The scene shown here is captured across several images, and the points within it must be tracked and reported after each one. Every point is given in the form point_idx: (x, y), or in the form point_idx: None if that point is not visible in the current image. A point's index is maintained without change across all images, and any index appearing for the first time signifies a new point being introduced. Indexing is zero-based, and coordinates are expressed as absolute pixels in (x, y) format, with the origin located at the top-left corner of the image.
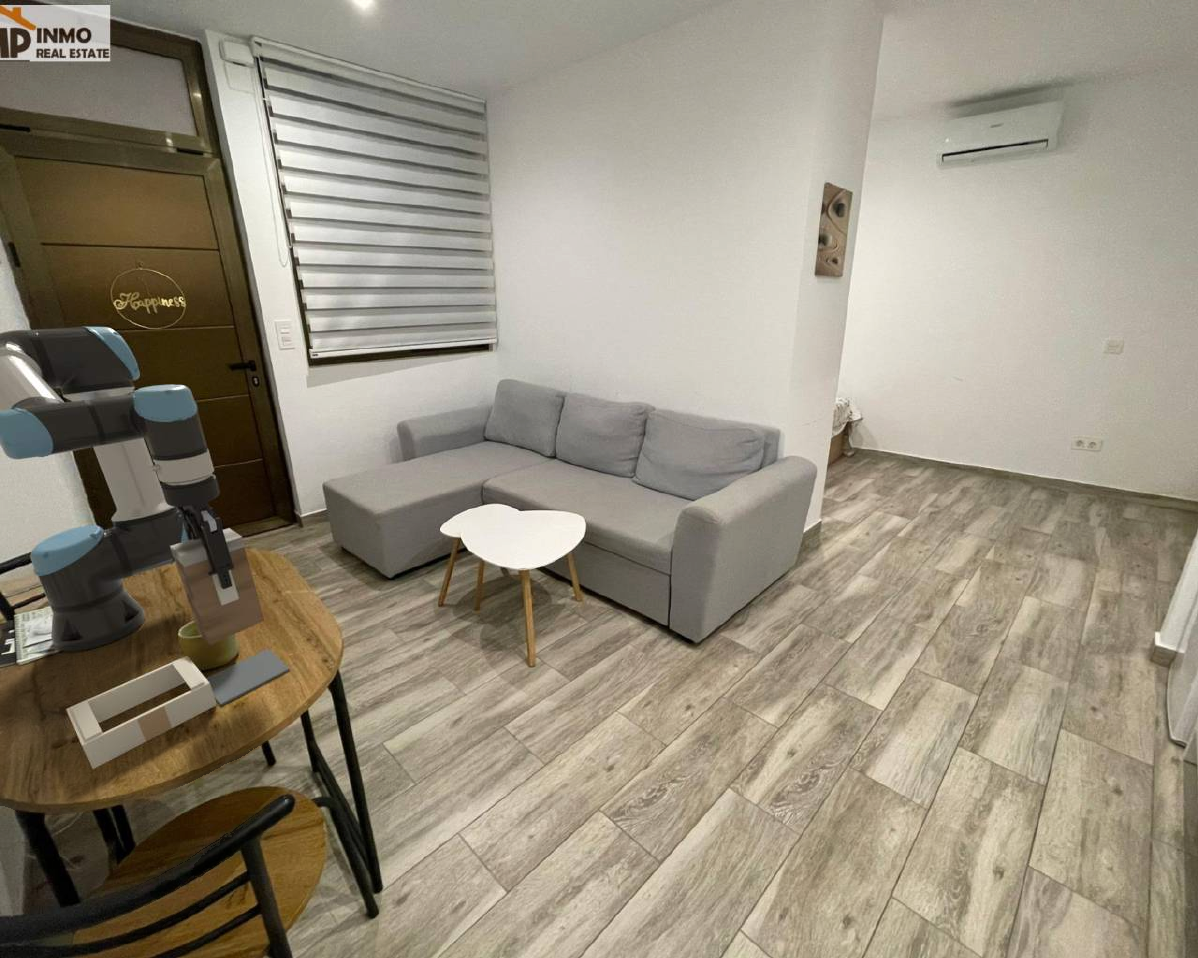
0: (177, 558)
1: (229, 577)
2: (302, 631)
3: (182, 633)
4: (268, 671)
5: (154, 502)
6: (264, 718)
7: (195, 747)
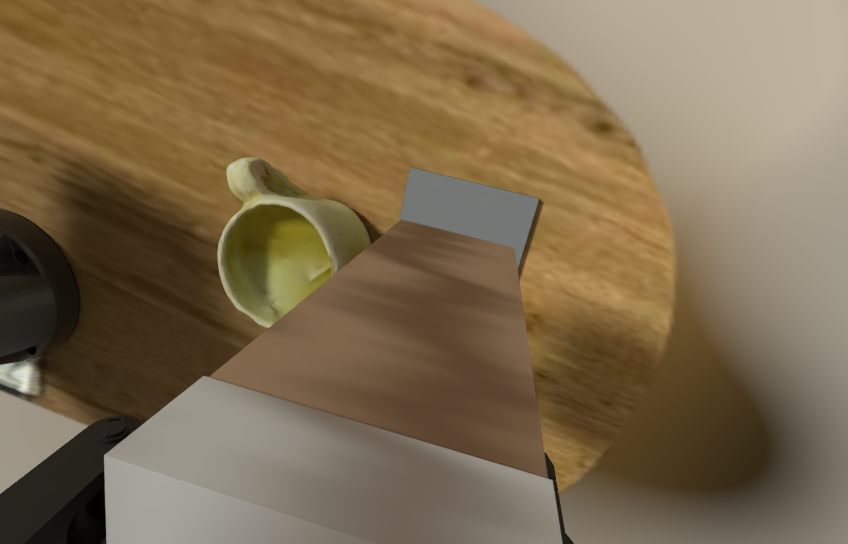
0: None
1: (559, 505)
2: (420, 63)
3: (249, 303)
4: (497, 229)
5: None
6: (624, 329)
7: (557, 420)
